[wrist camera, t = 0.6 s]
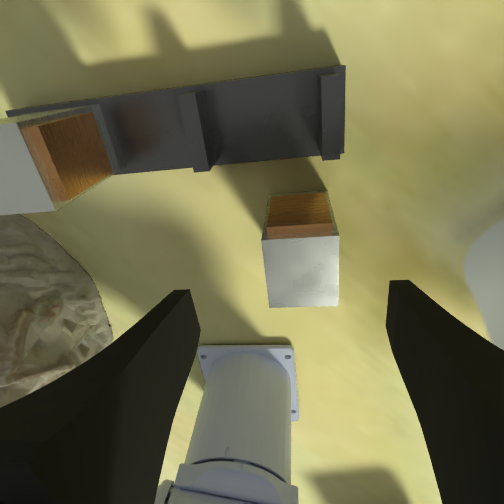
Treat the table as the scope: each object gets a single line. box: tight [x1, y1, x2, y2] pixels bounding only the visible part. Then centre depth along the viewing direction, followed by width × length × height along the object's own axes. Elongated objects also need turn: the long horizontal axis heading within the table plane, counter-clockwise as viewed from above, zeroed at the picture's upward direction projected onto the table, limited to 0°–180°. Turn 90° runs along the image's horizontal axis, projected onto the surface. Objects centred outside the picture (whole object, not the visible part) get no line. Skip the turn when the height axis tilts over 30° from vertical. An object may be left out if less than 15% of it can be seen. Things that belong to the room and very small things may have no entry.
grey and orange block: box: [261, 190, 339, 308], centre depth 18 cm, size 4×4×6 cm
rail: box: [0, 65, 346, 215], centre depth 16 cm, size 18×4×8 cm, turn 97°
